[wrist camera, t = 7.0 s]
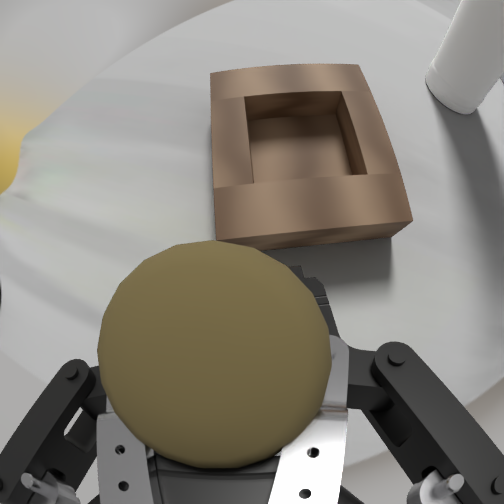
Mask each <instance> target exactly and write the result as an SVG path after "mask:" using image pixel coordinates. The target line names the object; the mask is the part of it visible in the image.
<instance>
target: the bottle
mask: <svg viewBox="0 0 504 504" xmlns="http://www.w3.org/2000/svg"><path fill="white" fill-rule="evenodd" d="M503 72H504V0H461V2H460V4H459V6H458V9H457V11H456V13H455V15H454V18H453V20H452V22H451V24H450V26H449V29H448V31H447V33H446V35H445V37H444V39H443V41H442V43H441V45H440V47H439V50H438V52H437V54H436V56H435V57H434V59H433V60H432V62H431V64H430V66H429V68H428V71H427V73H426V75H425V78H426V83H427V85H428V87H429V89H430V91H431V92H432V93H433V95H434V96H435V97H436V98H437V99H438V100H439V101H440V102H441V103H442V104H443V105H445V106H446V107H448V108H449V109H451V110H453V111H455V112H458V113H460V114H471V113H472V112H474V110H475V109H476V108H477V107H478V106H479V105H480V104H481V103H482V102H483V100H484V98H485V96H486V95H487V94H488V93H489V91H490V90H491V89H492V87H493V86H494V85H495V83H496V82H497V81H498V79H499V78H500V77H501V75H502V74H503Z"/></svg>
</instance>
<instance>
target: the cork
mask: <svg viewBox="0 0 504 504" xmlns="http://www.w3.org/2000/svg"><path fill="white" fill-rule="evenodd" d="M97 353H98V362H99V370H100V377H101V383H102V385H103V388H104V390H105V392H106V395H107V397H108V399H109V401H110V404H111V406H112V408H113V410H114V412H115V414H116V415H117V416H118V417H119V419H120V420H121V421H122V422H123V423H124V425H125V426H126V427H127V428H128V429H129V430H130V432H131V433H132V434H133V435H134V436H135V437H136V438H137V439H138V440H139V441H141V442H142V443H144V444H145V445H147V446H148V447H150V448H151V449H153V450H154V451H156V452H157V453H159V454H160V455H162V456H164V457H165V458H168V459H171V460H174V461H177V462H181V463H184V464H187V465H190V466H194V467H197V468H240V467H243V466H246V465H250V464H253V463H256V462H259V461H262V460H265V459H268V458H271V457H273V456H275V455H276V454H277V453H279V452H280V451H282V448H283V446H285V445H286V444H288V443H289V442H291V441H292V440H294V439H295V438H297V437H298V436H299V435H300V434H301V433H302V432H303V431H304V430H305V429H306V428H307V427H308V426H309V424H310V423H311V421H312V420H313V418H314V417H315V415H316V414H317V412H318V411H319V409H320V408H321V406H322V404H323V400H324V396H325V392H326V388H327V384H328V380H329V376H330V372H331V368H332V358H331V348H330V338H329V329H328V326H327V324H326V321H325V319H324V317H323V315H322V313H321V310H320V308H319V306H318V304H317V302H316V300H315V298H314V295H313V293H312V292H311V291H310V290H309V289H308V288H307V287H306V286H305V285H304V284H303V283H302V282H301V281H300V280H299V278H298V277H297V276H296V275H295V274H294V273H293V272H292V271H291V270H290V269H289V268H288V267H287V266H286V265H284V264H282V263H280V262H279V261H277V260H275V259H273V258H271V257H270V256H268V255H266V254H264V253H262V252H260V251H259V250H257V249H255V248H252V247H247V246H242V245H237V244H231V243H226V242H221V241H214V240H211V241H203V242H195V243H187V244H180V245H175V246H173V247H171V248H169V249H167V250H164V251H162V252H160V253H158V254H156V255H154V256H152V257H150V258H148V259H146V260H144V261H143V262H142V263H141V264H140V265H139V266H138V267H137V268H136V269H135V270H133V271H132V272H131V273H130V274H129V275H128V276H127V277H126V278H125V279H124V280H123V281H122V282H121V283H120V284H119V286H118V288H117V290H116V292H115V294H114V295H113V297H112V299H111V301H110V303H109V305H108V307H107V309H106V311H105V313H104V316H103V319H102V325H101V330H100V336H99V342H98V348H97Z"/></svg>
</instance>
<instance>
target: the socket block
mask: <svg viewBox="0 0 504 504" xmlns="http://www.w3.org/2000/svg"><path fill="white" fill-rule="evenodd" d="M210 86H211V134H212V164H213V187H214V208H215V226H216V240H217V241H221V242H226V243H231V244H237V245H242V246H247V247H252V248H255V249H257V250H259V251H264V250H273V249H283V248H292V247H302V246H311V245H321V244H330V243H340V242H349V241H359V240H369V239H378V238H388V237H392V236H394V235H395V234H396V233H398V232H399V231H400V230H402V229H403V228H404V227H406V226H407V225H408V224H410V223H411V222H412V221H413V218H412V214H411V210H410V206H409V202H408V198H407V194H406V190H405V187H404V183H403V180H402V176H401V173H400V169H399V166H398V163H397V160H396V157H395V154H394V151H393V148H392V145H391V142H390V139H389V136H388V133H387V131H386V128H385V125H384V123H383V120H382V117H381V115H380V112H379V110H378V107H377V105H376V103H375V100H374V98H373V95H372V93H371V91H370V88H369V86H368V84H367V82H366V80H365V77H364V75H363V73H362V71H361V69H360V67H359V65H354V64H291V65H274V66H262V67H252V68H243V69H235V70H228V71H221V72H214V73H210Z"/></svg>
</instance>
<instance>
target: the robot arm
mask: <svg viewBox="0 0 504 504" xmlns="http://www.w3.org/2000/svg"><path fill="white" fill-rule="evenodd" d="M288 268H289V269H290V270H291V271H292V272H293V273H294V274H295V275H296V276H297V277H298V278H299V280H300V281H301V282H302V283H303V284H304V285H305V286H306V287H307V288H308V289H309V290H310V291H311V292H312V293H313V295H314V298H315V300H316V302H317V304H318V306H319V308H320V310H321V313H322V315H323V317H324V319H325V321H326V324H327V326H328V329H329V338H330V348H331V358H332V368H331V372H330V376H329V380H328V384H327V388H326V392H325V396H324V400H323V404H322V406H321V408H320V409H319V411H318V412H317V414H316V415H315V417H314V418H313V420H312V421H311V423H310V424H309V426H308V427H307V428H306V429H305V430H304V431H303V432H302V433H301V434H300V435H299V436H298V437H297V438H295V439H294V440H292V441H291V442H289V443H288V444H286V445H285V446H283V448H282V453H281V456H273V457H271V458H268V459H265V460H262V461H259V462H256V463H253V464H250V465H246V466H243V467H240V468H197V467H194V466H190V465H187V464H184V463H181V462H177V461H174V460H171V459H168V458H165V457H164V456H162V455H160V454H159V453H157V452H156V451H154V450H153V449H151V448H150V447H148V446H147V445H145V444H144V443H142V442H141V441H139V440H138V439H137V438H136V437H135V436H134V435H133V434H132V433H131V432H130V430H129V429H128V428H127V427H126V426H125V425H124V423H123V422H122V421H121V420H120V419H119V417H118V416H117V415H116V414H115V412H114V410H113V408H112V406H111V404H110V401H109V399H108V397H107V395H106V392H105V390H104V388H103V385H102V383H101V377H100V370H99V366H95V367H91V368H90V367H89V366H88V365H87V363H86V362H85V361H83V360H81V359H74V360H71V361H68V362H67V363H65V364H64V365H63V366H62V367H61V369H60V370H59V371H58V372H57V374H56V375H55V376H54V378H53V379H52V380H51V382H50V383H49V384H48V386H47V387H46V388H45V390H44V391H43V392H42V394H41V395H40V396H39V398H38V399H37V401H36V402H35V403H34V405H33V406H32V408H31V409H30V410H29V412H28V413H27V415H26V416H25V418H24V419H23V420H22V422H21V423H20V425H19V426H18V428H17V429H16V431H15V432H14V434H13V435H12V437H11V438H10V440H9V441H8V443H7V445H6V446H5V448H4V449H3V451H2V452H1V454H0V503H1V504H81V503H80V500H79V498H77V497H76V493H75V492H76V490H77V489H78V487H79V485H80V483H81V482H82V480H83V478H84V477H85V475H86V473H87V471H88V470H89V468H90V467H91V465H92V463H93V462H94V460H95V458H96V457H97V466H98V481H99V493H100V494H99V495H97V496H96V497H95V498H94V499H93V500H91V501H90V502H89V503H88V504H364V503H363V502H362V501H360V500H359V499H358V498H357V497H355V496H354V495H353V494H351V493H350V492H349V491H348V490H346V489H345V488H344V487H343V486H341V485H340V481H341V473H342V467H343V459H344V451H345V443H346V433H347V423H348V409H347V408H351V409H361V410H362V412H363V413H364V415H365V416H366V418H367V419H368V420H369V422H370V423H371V425H372V426H373V428H374V429H375V430H376V432H377V433H378V435H379V436H380V437H381V439H382V440H383V442H384V443H385V445H386V446H387V447H388V449H389V450H390V452H391V453H392V455H393V456H394V457H395V459H396V460H397V462H398V463H399V465H400V466H401V467H402V469H403V470H404V472H405V473H406V474H407V476H408V477H409V479H410V480H411V482H412V483H413V486H412V487H411V489H410V491H409V493H408V495H407V504H504V455H503V454H502V453H501V451H500V450H499V449H498V448H497V447H496V445H495V444H494V443H493V441H492V440H491V439H490V438H489V436H488V435H487V434H486V433H485V432H484V430H483V429H482V428H481V427H480V425H479V424H478V423H477V422H476V421H475V419H474V418H473V417H472V416H471V415H470V414H469V412H468V411H467V410H466V409H465V408H464V406H463V405H462V404H461V403H460V402H459V401H458V399H457V398H456V397H455V396H454V395H453V394H452V393H451V391H450V390H449V389H448V388H447V387H446V386H445V385H444V383H443V382H442V381H441V380H440V379H439V378H438V377H437V376H436V375H435V373H434V372H433V371H432V370H431V369H430V368H429V367H428V366H427V365H426V363H425V362H424V361H423V360H422V359H421V358H420V357H419V356H418V355H417V354H416V353H415V352H414V350H413V349H412V348H410V347H409V346H408V345H406V344H404V343H401V342H388V343H385V344H383V345H382V346H380V347H379V348H378V350H377V351H367V350H359V349H355V348H352V347H350V346H348V345H347V344H346V343H345V342H344V341H343V340H342V339H341V338H340V336H339V333H338V330H337V327H336V324H335V320H334V317H333V314H332V311H331V308H330V305H329V301H328V298H327V296H326V292H325V289H324V286H323V284H322V283H321V282H320V281H319V280H318V279H316V278H315V277H313V278H304V277H303V273H302V269H301V266H292V267H288ZM79 407H81V408H82V409H83V411H82V413H81V414H80V416H79V417H78V419H77V420H76V422H75V423H74V425H73V426H72V428H71V429H70V431H69V432H68V434H66V435H65V436H64V430H65V428H66V427H67V425H68V424H69V422H70V421H71V419H72V418H73V416H74V415H75V413H76V412H77V410H78V409H79Z"/></svg>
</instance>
